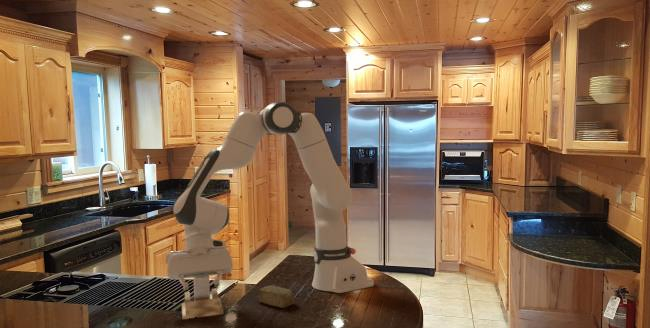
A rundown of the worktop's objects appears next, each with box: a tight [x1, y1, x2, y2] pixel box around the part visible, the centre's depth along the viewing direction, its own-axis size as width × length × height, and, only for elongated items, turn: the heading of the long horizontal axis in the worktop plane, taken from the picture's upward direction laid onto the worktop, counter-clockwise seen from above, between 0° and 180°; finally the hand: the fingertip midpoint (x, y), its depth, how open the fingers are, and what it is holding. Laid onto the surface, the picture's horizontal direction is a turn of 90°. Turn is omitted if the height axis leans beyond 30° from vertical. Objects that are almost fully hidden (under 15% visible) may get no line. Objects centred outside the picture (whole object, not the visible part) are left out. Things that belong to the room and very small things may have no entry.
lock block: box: [193, 273, 211, 301], centre depth 141 cm, size 4×5×10 cm
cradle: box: [181, 288, 224, 320], centre depth 141 cm, size 12×12×4 cm
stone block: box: [258, 285, 295, 309], centre depth 146 cm, size 6×12×5 cm, turn 56°
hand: (201, 287), depth 140 cm, fingers open, 8 cm apart
